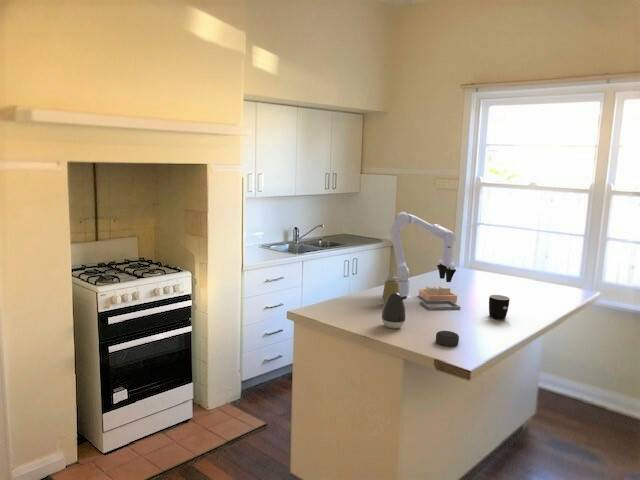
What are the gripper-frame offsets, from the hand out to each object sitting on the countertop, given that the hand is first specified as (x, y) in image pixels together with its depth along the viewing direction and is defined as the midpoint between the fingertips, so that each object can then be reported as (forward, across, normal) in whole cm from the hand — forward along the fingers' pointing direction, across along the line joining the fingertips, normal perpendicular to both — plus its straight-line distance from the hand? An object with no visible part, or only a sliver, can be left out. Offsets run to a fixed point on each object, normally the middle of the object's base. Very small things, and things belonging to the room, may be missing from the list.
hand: (445, 280), depth 277 cm
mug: (+11, -31, -14) cm, 35 cm away
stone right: (+10, 0, 0) cm, 10 cm away
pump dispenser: (+11, -41, +42) cm, 60 cm away
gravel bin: (+10, 0, +4) cm, 11 cm away
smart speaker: (+11, -62, +28) cm, 69 cm away
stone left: (+10, 0, +7) cm, 12 cm away
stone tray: (+10, -14, +8) cm, 19 cm away
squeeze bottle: (+11, -9, +32) cm, 35 cm away
